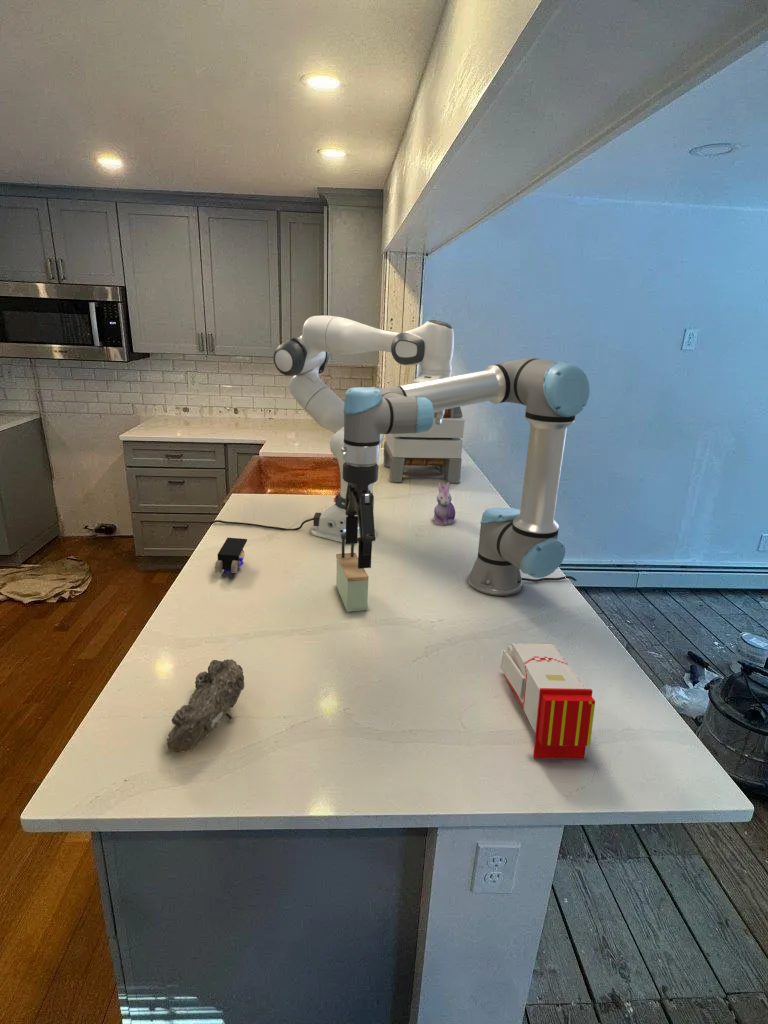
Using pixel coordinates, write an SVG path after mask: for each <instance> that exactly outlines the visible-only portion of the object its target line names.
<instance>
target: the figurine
mask: <svg viewBox="0 0 768 1024" xmlns="http://www.w3.org/2000/svg"><path fill="white" fill-rule="evenodd" d="M437 485H438V494H437V496H436V502H437V504H436V506H435V507H434V510H433V513H434V514H433V522H434V523H435V525H439V526H446V525H451V524H453V523H454V522H455V518H456V509H455V506H454V505H453V503H452V499H453V498H452V495H451V493H450V489H451V483H449V482H447V483H446V484H445V486H444V485H443V484H442V483H441V482H438V484H437Z"/></svg>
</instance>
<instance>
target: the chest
mask: <svg viewBox="0 0 768 1024" xmlns="http://www.w3.org/2000/svg"><path fill="white" fill-rule="evenodd" d="M335 576H336V578H335V579H336V581H335V582H336V583H335V587H336V589H337V592H338V594H339V597H340V598H341V601H342V603H343V606H344V608H345V610H346V612H347V613H351V612H360V611H367V610H368V600H369V599H368V598H369V597H368V596H369V579H368V580H362V581H350V582H348V581H347V579H346V577H345V575H344V573H343V570H342V568H341V566H340V564H339V562H338V560H337V559H336V575H335Z"/></svg>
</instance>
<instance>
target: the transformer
mask: <svg viewBox="0 0 768 1024" xmlns="http://www.w3.org/2000/svg"><path fill="white" fill-rule="evenodd" d="M397 386H401V385H399V384H398V385H397ZM436 416H437V412H436V413H434V422H433V425H432V427H431V428H430V430H428V431H426V432H420V433H416V434H414V433H401V434H385V437H384V441H383V466H384V467H388V468H389V475H388V476H389V477H388V478H389V480H390V482H391V483H402V482H403V475H404V469H405V466H406V467H407V466H411V467H412V466H413V467H415V466H416V467H417V466H418V467H436V468H437V470H438V469H439V473H440V474H441V475H443V478H444V479H445V481H446V482H447V483H448V482H449V483H450V484H455V483H456V484H459V483H461V472H462V461H463V460H462V453H463V442H464V441H463V440H462V439H463V438H464V431H465V430H464V429H465V419H464V418H463V411H462V408H461V407H455V408H450V409H445V413H444V415H443V418H442V424H440V425H436V424H435V418H436Z"/></svg>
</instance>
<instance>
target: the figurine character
mask: <svg viewBox="0 0 768 1024" xmlns="http://www.w3.org/2000/svg"><path fill="white" fill-rule="evenodd" d="M247 542H248V538H240V537H226V539H225V541H224V543H223V544H222V546H221V547H220V549H219V551H218V552H217V560H216V562H215V564H214V572H215V573H221V577H222V578H224V577H225V576H226V574H227V573H230V574H231V573H232V574H231V578H234V577H235V575H236V573H237V572H239V571H240V567H242V566H243V565H244V564H245V562H244V558H245V551H244V547H245V546H246V544H247Z"/></svg>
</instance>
